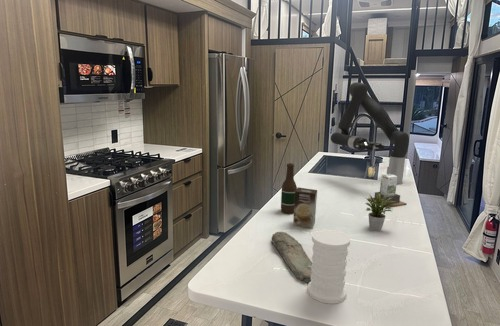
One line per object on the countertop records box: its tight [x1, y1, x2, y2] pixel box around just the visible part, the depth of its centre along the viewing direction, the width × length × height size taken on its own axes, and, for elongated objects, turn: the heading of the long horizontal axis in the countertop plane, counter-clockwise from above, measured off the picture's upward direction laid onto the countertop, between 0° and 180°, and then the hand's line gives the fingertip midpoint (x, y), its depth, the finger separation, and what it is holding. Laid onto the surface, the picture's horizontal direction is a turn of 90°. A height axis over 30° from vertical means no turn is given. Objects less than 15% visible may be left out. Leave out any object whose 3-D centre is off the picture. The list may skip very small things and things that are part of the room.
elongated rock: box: [271, 231, 313, 284], centre depth 128 cm, size 35×5×10 cm
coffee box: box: [292, 186, 318, 229], centre depth 157 cm, size 9×6×16 cm
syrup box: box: [379, 173, 398, 197], centre depth 190 cm, size 6×6×14 cm
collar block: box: [367, 191, 407, 209], centre depth 191 cm, size 14×14×6 cm
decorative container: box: [306, 229, 351, 305], centre depth 106 cm, size 12×12×18 cm
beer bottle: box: [280, 162, 298, 215], centre depth 172 cm, size 8×8×24 cm
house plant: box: [364, 191, 399, 232], centre depth 154 cm, size 14×14×16 cm
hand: (378, 148), depth 195 cm, fingers open, 8 cm apart
